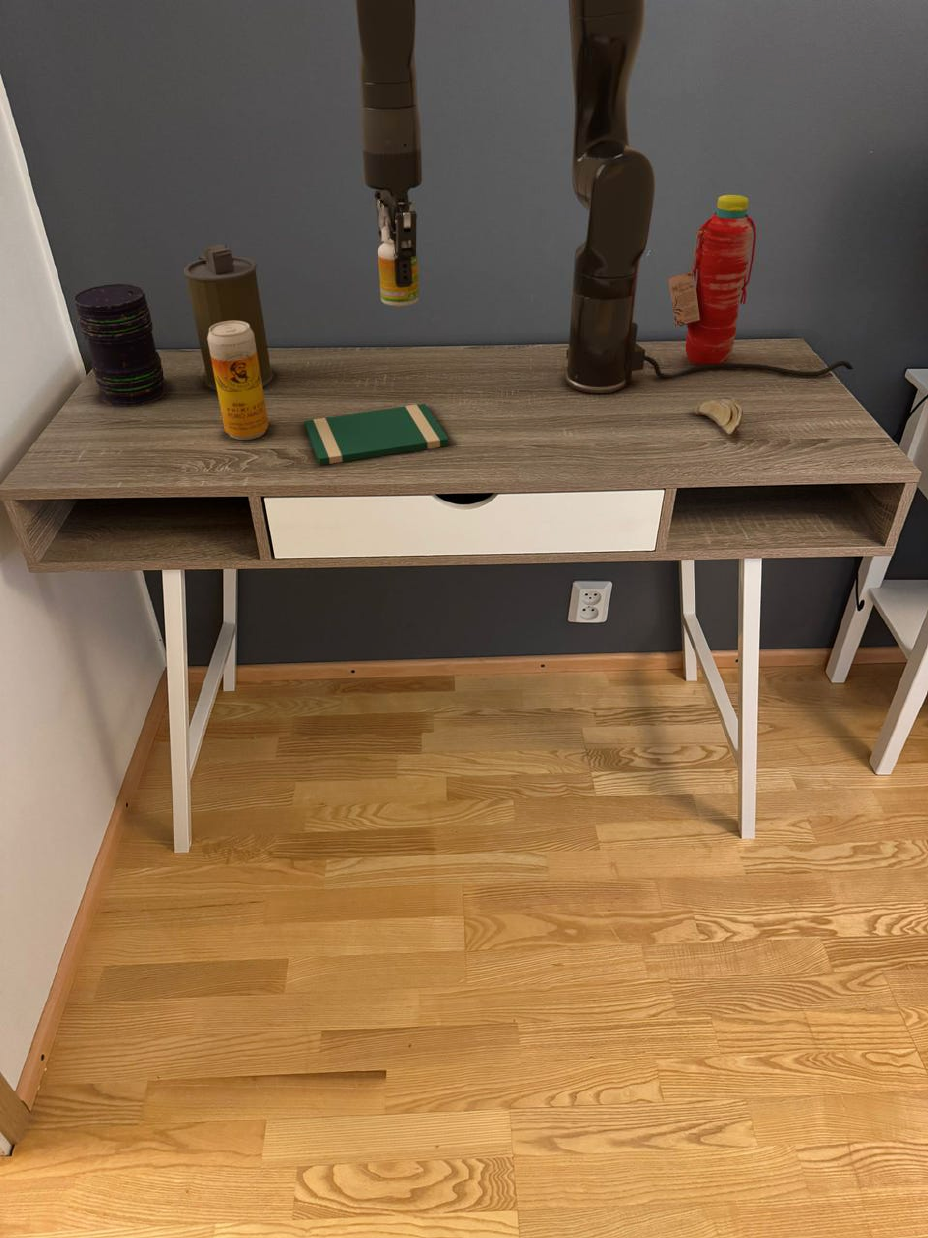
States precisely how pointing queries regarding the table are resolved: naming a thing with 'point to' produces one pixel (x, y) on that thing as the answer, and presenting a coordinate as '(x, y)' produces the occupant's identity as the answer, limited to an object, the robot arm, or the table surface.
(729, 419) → the dumpling
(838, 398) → the table surface
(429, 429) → the towel
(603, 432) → the table surface
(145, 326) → the dark cylinder
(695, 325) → the water bottle
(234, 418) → the beer can
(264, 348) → the canister
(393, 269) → the supplement bottle
